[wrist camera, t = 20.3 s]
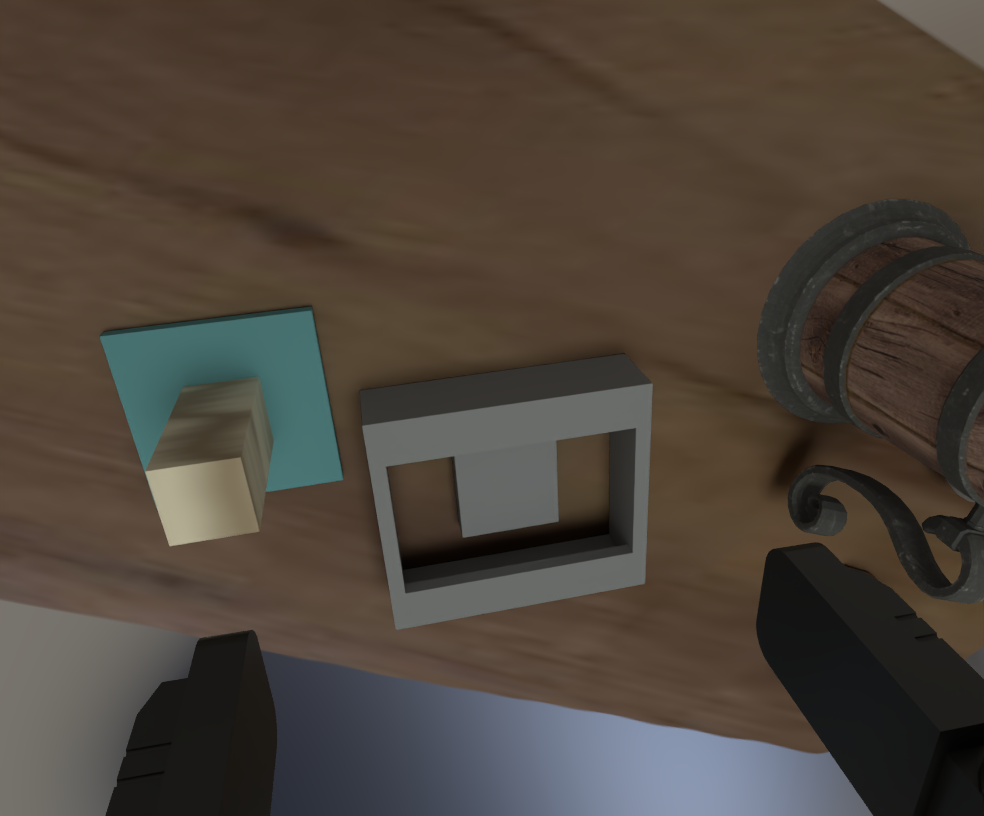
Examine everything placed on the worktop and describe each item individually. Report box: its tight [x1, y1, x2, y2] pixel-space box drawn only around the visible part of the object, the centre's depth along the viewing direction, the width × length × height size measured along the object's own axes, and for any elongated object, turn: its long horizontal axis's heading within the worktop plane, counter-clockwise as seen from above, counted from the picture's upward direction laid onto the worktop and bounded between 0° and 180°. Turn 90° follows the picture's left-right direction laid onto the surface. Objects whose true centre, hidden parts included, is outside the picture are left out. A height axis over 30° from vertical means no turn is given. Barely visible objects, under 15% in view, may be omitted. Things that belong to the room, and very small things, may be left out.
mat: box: [100, 306, 343, 508], centre depth 46 cm, size 12×12×1 cm
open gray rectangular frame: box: [360, 354, 653, 630], centre depth 50 cm, size 18×16×5 cm
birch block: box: [145, 377, 274, 546], centre depth 41 cm, size 4×4×10 cm
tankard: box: [757, 199, 984, 604], centre depth 45 cm, size 24×17×20 cm
